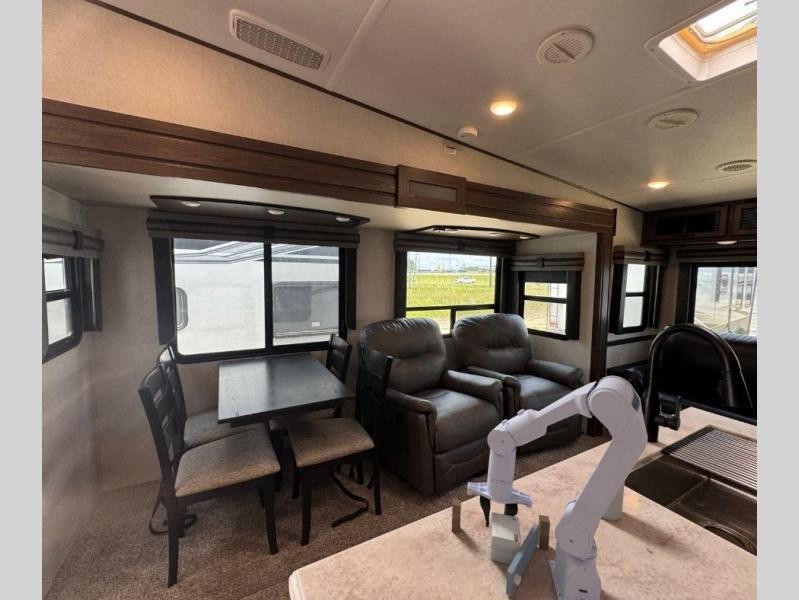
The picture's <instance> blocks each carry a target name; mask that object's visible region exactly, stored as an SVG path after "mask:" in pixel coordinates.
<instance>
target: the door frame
mask: <svg viewBox="0 0 799 600" xmlns="http://www.w3.org/2000/svg"><path fill="white" fill-rule="evenodd" d="M451 508H452V510H451V512H452V513H451V532H453V533H457V534H460V533H461V532H460V531H461V521H462V520H461V517H462V516H461V515H462V512H461V511H462V500H460V499H454V498H453V499H452V506H451ZM550 521H551V520H550V517H549V516H548V515H544V514H539V515H538V525H539V530H538V545H537V547H538V549H539V550H542V551H545V552H549V545H550V532H551V530H550V529H551V522H550Z"/></svg>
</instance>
